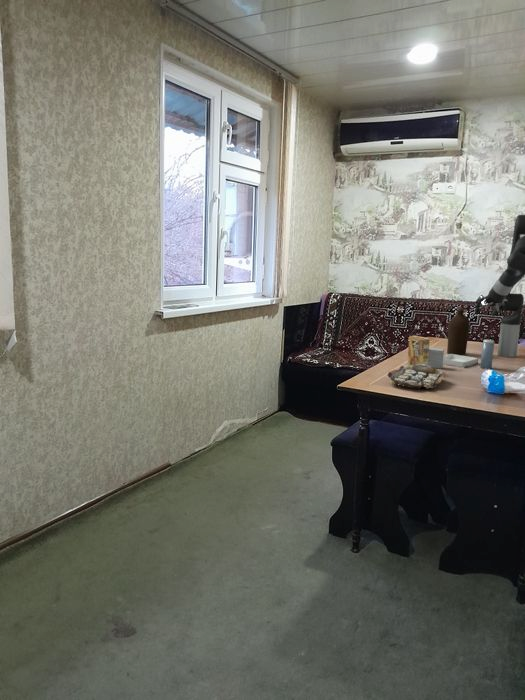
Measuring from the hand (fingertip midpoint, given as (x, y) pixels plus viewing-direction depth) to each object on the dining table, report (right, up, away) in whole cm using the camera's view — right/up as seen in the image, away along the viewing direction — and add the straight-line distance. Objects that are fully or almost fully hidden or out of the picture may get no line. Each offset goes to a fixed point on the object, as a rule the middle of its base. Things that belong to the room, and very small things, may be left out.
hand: (483, 313), depth 257 cm
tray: (-12, -24, +2) cm, 27 cm away
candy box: (-37, -27, -15) cm, 48 cm away
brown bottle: (-4, -20, +26) cm, 33 cm away
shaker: (-2, -26, -7) cm, 27 cm away
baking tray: (-44, -32, -38) cm, 67 cm away
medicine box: (-27, -26, -8) cm, 39 cm away
